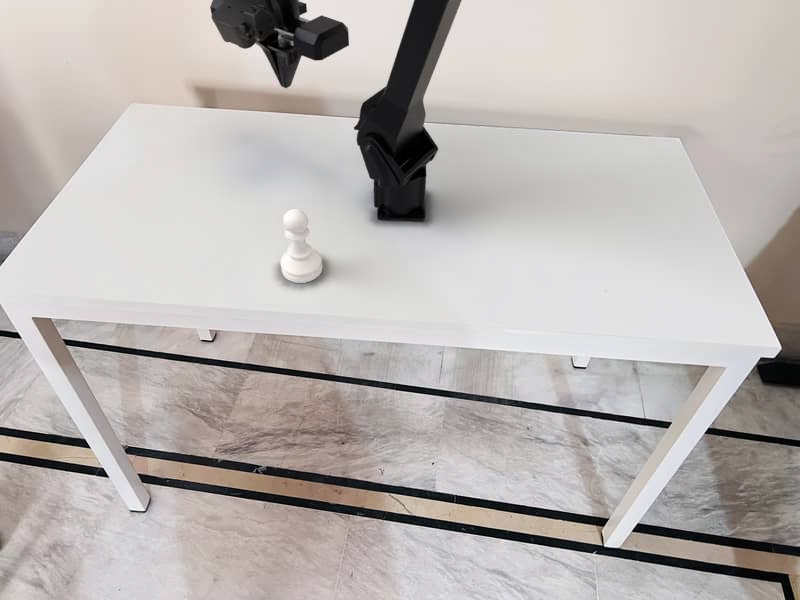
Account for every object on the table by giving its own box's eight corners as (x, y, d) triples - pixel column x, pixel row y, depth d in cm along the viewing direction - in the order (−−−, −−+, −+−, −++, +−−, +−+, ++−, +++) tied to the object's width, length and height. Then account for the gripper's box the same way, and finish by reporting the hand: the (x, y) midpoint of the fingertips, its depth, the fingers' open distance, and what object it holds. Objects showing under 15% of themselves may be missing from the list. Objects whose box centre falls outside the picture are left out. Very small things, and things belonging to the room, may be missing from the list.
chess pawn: (329, 273, 75) (324, 216, 68) (293, 289, 73) (283, 232, 66) (311, 250, 77) (304, 193, 71) (275, 265, 76) (264, 207, 69)
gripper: (161, -39, 70) (193, 88, 81) (279, 1, 62) (296, 135, 74) (233, -63, 76) (253, 58, 87) (349, -29, 69) (354, 99, 80)
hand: (286, 86), depth 82 cm, fingers closed
